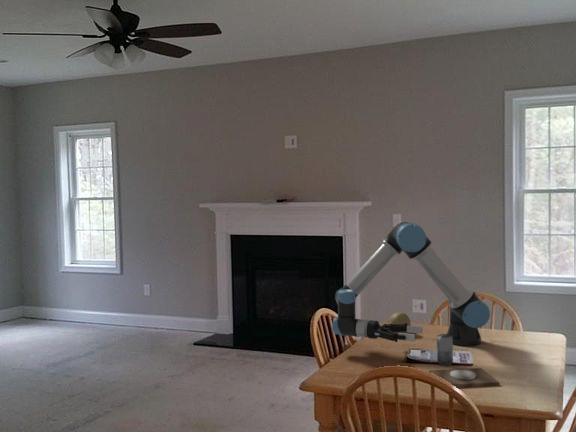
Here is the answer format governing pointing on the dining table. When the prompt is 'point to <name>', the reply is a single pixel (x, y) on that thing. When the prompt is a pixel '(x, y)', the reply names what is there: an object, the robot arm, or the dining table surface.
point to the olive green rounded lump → (400, 320)
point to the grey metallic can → (444, 349)
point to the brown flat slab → (467, 377)
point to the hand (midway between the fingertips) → (418, 334)
